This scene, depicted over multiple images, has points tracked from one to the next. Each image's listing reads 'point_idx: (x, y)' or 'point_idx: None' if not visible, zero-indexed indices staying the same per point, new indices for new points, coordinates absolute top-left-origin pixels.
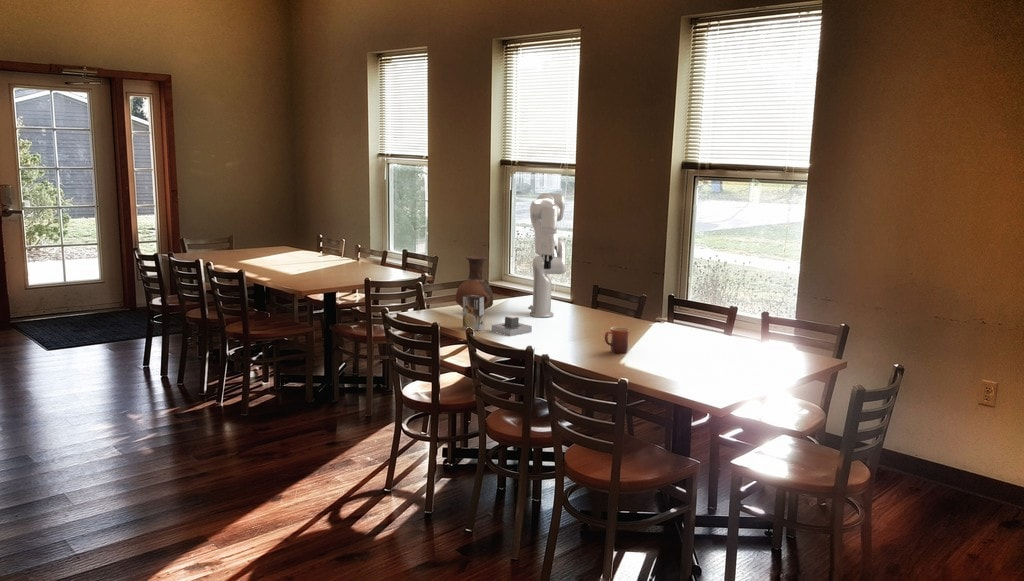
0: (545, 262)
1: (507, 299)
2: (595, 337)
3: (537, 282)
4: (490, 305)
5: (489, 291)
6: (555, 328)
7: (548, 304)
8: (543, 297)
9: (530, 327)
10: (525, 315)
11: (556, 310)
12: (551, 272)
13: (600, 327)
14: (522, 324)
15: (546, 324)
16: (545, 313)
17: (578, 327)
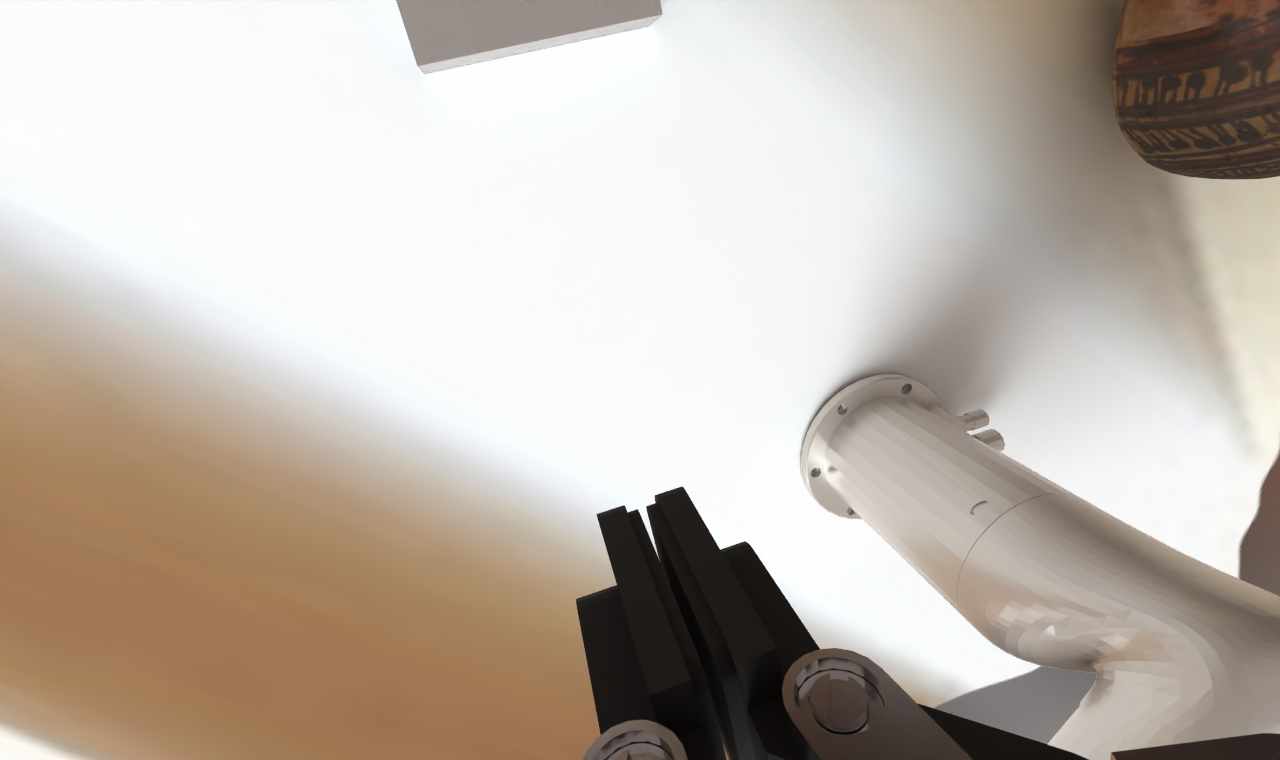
0: (705, 638)
1: (1264, 460)
2: (89, 466)
3: (1058, 528)
4: (1116, 94)
5: (1272, 76)
6: (489, 338)
7: (864, 507)
8: (910, 497)
9: (412, 49)
10: (921, 351)
11: (924, 581)
12: (1071, 727)
13: (416, 625)
14: (509, 18)
15: (633, 344)
16: (831, 455)
17: (464, 501)
